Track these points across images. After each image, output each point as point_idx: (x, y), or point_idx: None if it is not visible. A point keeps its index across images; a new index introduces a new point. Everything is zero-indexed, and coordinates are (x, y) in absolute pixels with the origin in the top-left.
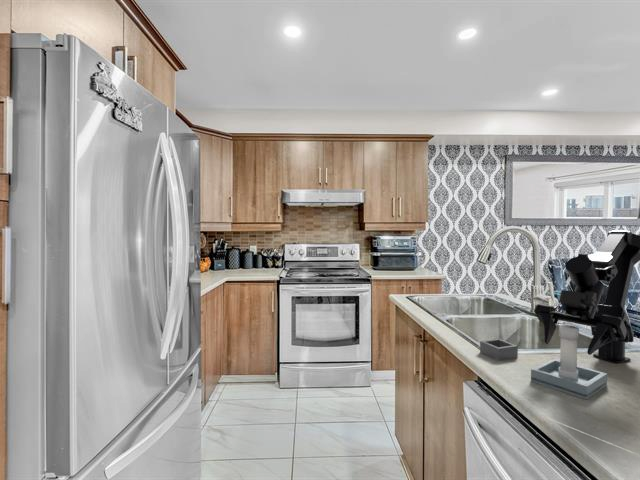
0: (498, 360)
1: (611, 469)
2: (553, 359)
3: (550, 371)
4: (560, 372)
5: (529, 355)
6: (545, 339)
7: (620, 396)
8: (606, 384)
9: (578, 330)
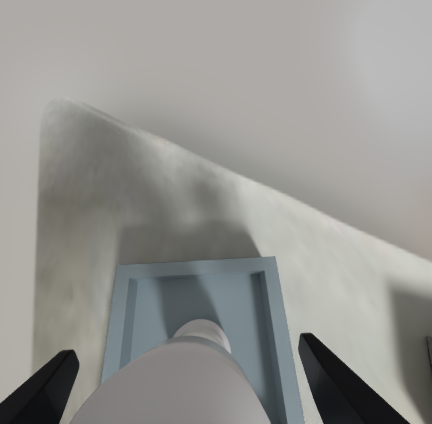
0: (427, 336)
1: (63, 97)
2: None
3: (267, 370)
4: (214, 323)
5: None
6: (317, 342)
7: None
8: None
9: None
